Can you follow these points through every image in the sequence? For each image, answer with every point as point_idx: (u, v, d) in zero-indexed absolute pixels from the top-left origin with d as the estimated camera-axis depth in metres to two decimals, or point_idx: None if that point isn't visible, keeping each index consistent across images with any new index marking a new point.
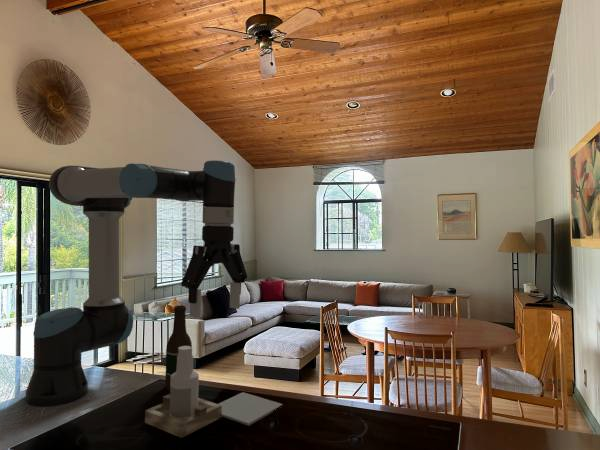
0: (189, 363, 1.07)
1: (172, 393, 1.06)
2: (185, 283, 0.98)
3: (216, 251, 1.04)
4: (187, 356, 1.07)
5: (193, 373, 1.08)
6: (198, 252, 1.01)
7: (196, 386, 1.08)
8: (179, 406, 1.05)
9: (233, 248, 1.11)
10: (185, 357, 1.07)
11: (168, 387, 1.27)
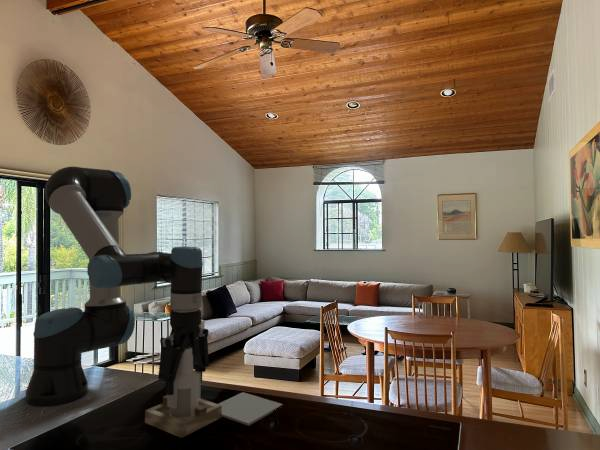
0: (189, 363, 1.07)
1: None
2: (161, 378, 1.03)
3: (183, 338, 1.06)
4: (187, 356, 1.07)
5: (193, 373, 1.08)
6: (165, 345, 1.03)
7: (196, 386, 1.08)
8: (179, 406, 1.05)
9: (201, 332, 1.12)
10: (185, 357, 1.07)
11: None
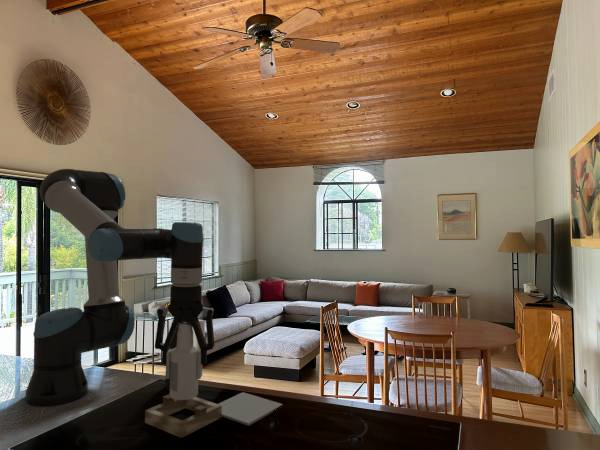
0: (182, 339, 1.07)
1: None
2: None
3: (176, 311, 1.07)
4: (181, 331, 1.07)
5: (186, 350, 1.06)
6: None
7: (185, 364, 1.05)
8: (170, 378, 1.07)
9: (206, 311, 1.08)
10: (179, 331, 1.07)
11: (168, 387, 1.27)
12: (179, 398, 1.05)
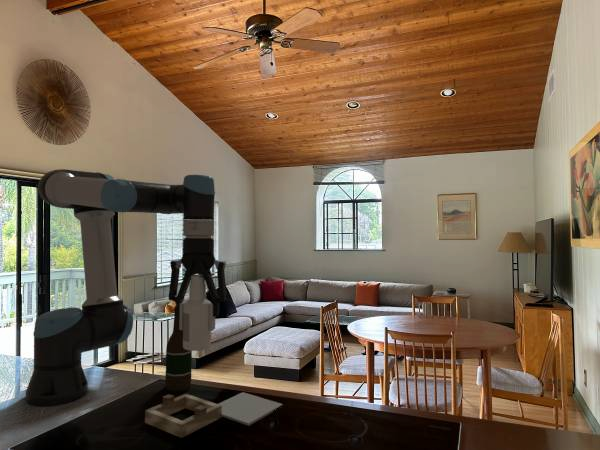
0: (194, 290, 1.08)
1: None
2: None
3: None
4: (193, 282, 1.08)
5: (198, 301, 1.07)
6: None
7: (197, 314, 1.06)
8: (183, 329, 1.08)
9: (217, 264, 1.09)
10: (191, 283, 1.08)
11: (168, 387, 1.27)
12: (191, 348, 1.06)
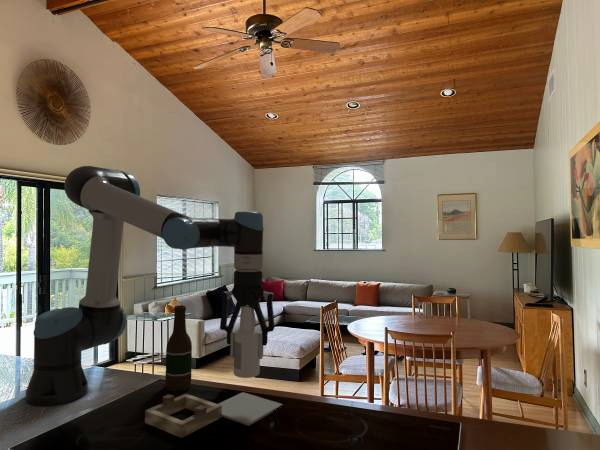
0: (245, 320, 1.14)
1: None
2: None
3: (239, 295, 1.14)
4: (243, 313, 1.14)
5: (249, 331, 1.13)
6: None
7: (248, 344, 1.12)
8: (234, 357, 1.14)
9: (266, 295, 1.15)
10: (242, 313, 1.14)
11: (168, 387, 1.27)
12: (243, 376, 1.12)
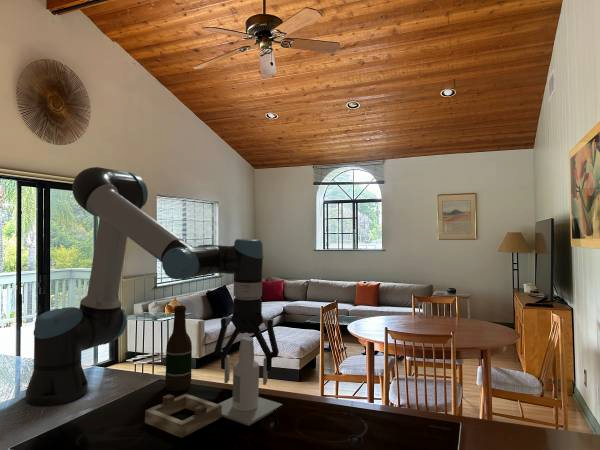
0: (244, 354, 1.14)
1: None
2: None
3: (238, 322, 1.14)
4: (243, 346, 1.14)
5: (248, 365, 1.13)
6: None
7: (247, 377, 1.12)
8: (233, 390, 1.14)
9: (266, 322, 1.15)
10: (241, 346, 1.14)
11: (168, 387, 1.27)
12: (241, 409, 1.12)
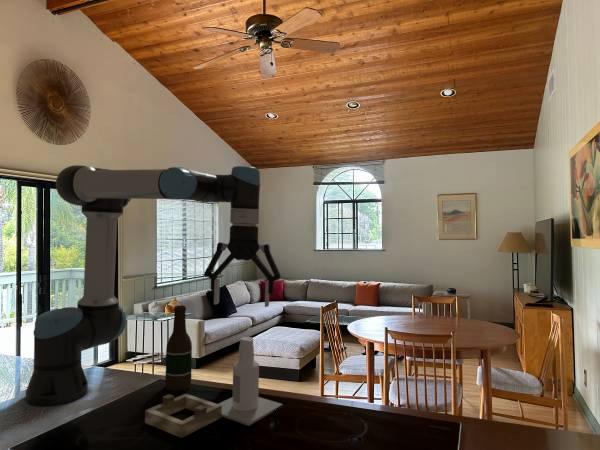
0: (244, 354, 1.14)
1: None
2: None
3: (235, 248, 1.15)
4: (242, 346, 1.14)
5: (248, 365, 1.13)
6: None
7: (247, 377, 1.13)
8: (233, 390, 1.14)
9: (263, 248, 1.16)
10: (241, 346, 1.14)
11: (168, 387, 1.27)
12: (241, 409, 1.12)
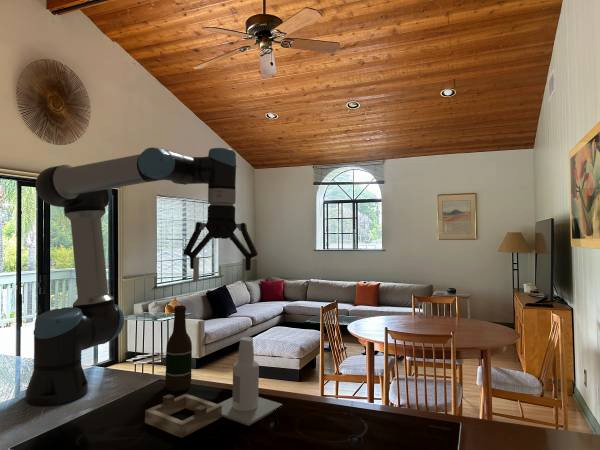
0: (243, 354, 1.14)
1: None
2: None
3: (212, 227, 1.20)
4: (242, 346, 1.14)
5: (248, 365, 1.13)
6: None
7: (247, 377, 1.13)
8: (233, 390, 1.14)
9: (239, 226, 1.20)
10: (241, 346, 1.14)
11: (168, 387, 1.27)
12: (241, 409, 1.12)
